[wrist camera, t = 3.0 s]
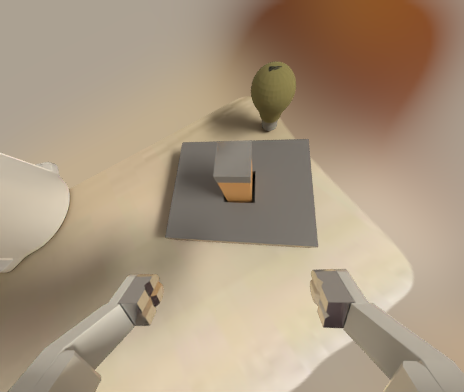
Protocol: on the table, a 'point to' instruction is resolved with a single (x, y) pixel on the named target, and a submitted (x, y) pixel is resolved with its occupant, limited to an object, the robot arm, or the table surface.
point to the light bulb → (272, 92)
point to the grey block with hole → (246, 214)
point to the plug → (234, 170)
